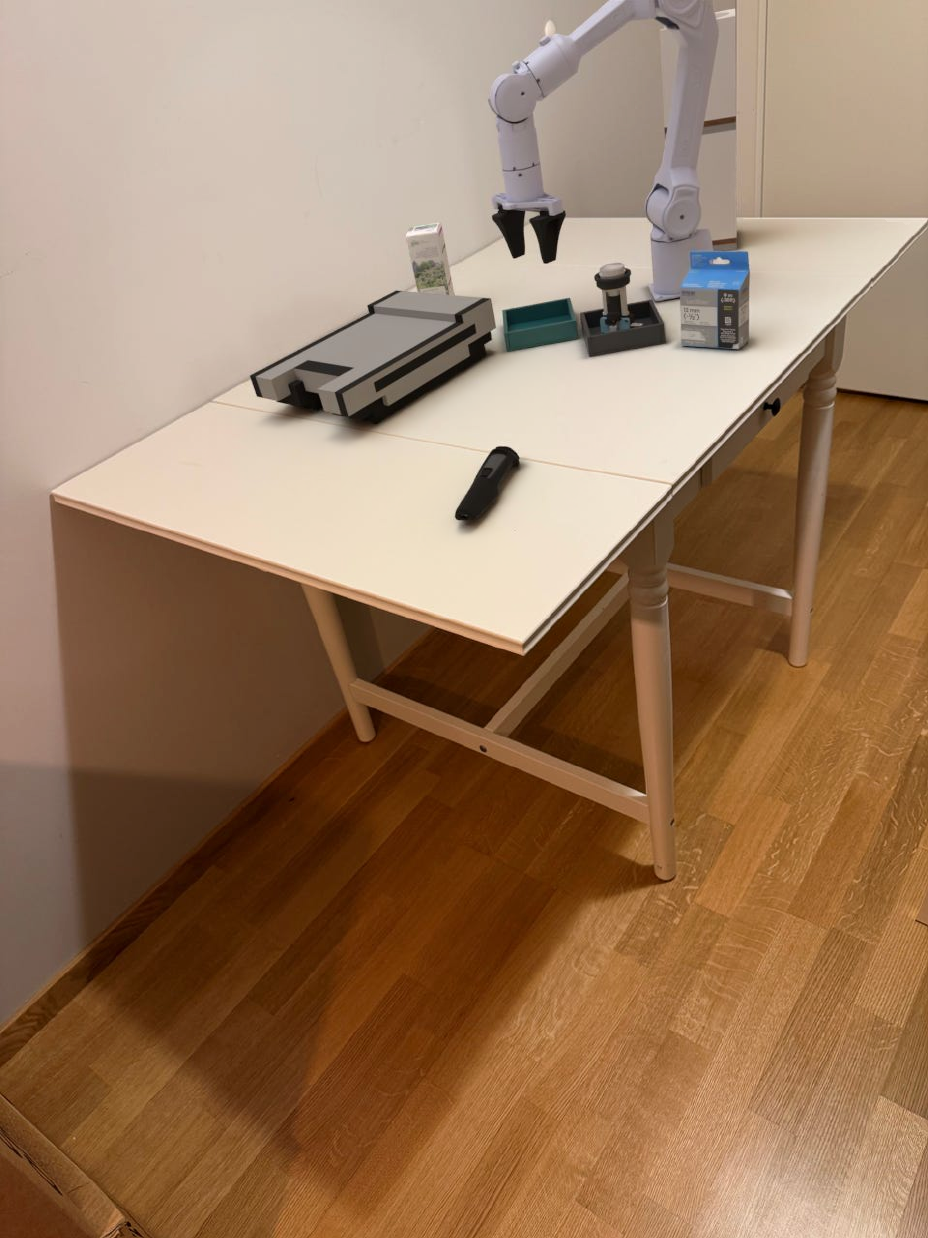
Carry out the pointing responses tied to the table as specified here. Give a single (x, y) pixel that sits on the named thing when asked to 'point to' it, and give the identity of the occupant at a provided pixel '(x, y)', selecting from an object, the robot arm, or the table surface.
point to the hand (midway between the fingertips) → (534, 258)
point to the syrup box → (429, 259)
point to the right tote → (623, 339)
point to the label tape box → (716, 300)
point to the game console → (383, 356)
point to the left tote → (539, 324)
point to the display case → (713, 133)
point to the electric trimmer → (486, 483)
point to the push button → (614, 297)
